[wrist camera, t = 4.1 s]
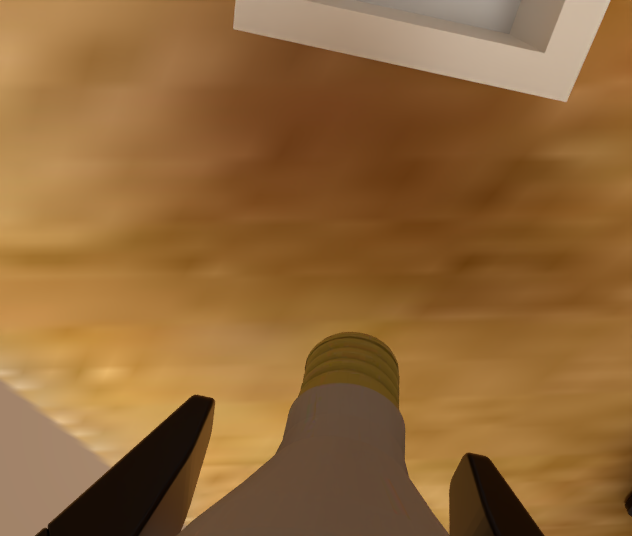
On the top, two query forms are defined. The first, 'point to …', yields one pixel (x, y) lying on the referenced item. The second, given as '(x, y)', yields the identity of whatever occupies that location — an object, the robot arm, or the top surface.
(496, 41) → the white hollow square box
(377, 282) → the top surface
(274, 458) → the light bulb
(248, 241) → the top surface
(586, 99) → the top surface
